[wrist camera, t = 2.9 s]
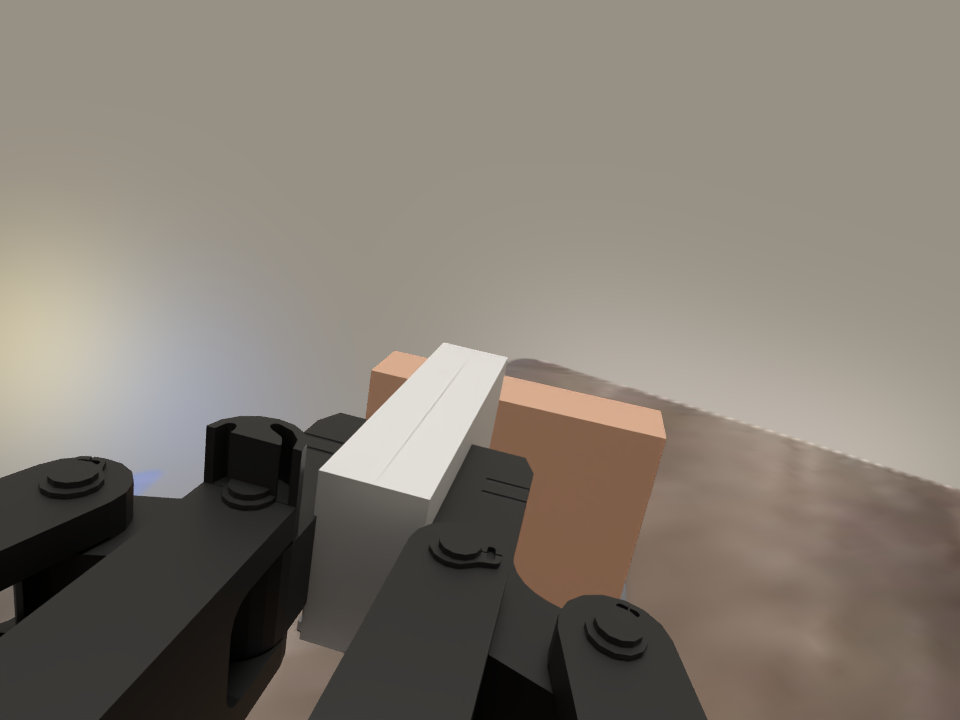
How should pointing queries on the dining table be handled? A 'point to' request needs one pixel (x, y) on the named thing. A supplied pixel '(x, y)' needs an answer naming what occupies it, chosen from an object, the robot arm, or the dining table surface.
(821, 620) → the dining table surface
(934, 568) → the dining table surface
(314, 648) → the dining table surface
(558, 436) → the terracotta tile
